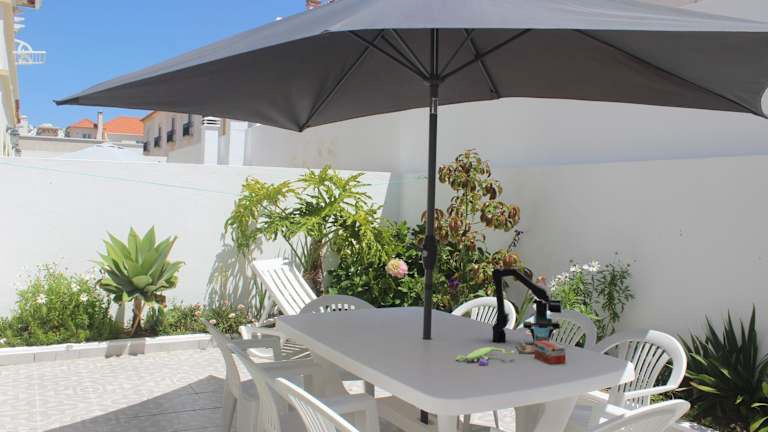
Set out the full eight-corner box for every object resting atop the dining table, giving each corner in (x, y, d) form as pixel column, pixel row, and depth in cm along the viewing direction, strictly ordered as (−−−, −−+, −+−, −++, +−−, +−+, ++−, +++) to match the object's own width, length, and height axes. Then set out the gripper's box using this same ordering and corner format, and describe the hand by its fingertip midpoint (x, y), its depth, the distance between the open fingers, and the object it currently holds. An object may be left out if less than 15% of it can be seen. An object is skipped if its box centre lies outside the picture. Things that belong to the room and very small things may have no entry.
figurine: (520, 361, 316) (520, 349, 316) (476, 368, 302) (476, 356, 301) (494, 353, 331) (494, 342, 331) (451, 360, 317) (451, 348, 317)
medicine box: (565, 363, 311) (565, 346, 311) (550, 364, 308) (550, 347, 308) (548, 356, 325) (548, 340, 325) (533, 357, 323) (533, 341, 322)
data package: (552, 338, 369) (552, 316, 369) (545, 339, 368) (545, 317, 367) (540, 334, 380) (540, 313, 380) (533, 335, 379) (533, 314, 379)
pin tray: (519, 353, 330) (519, 345, 330) (516, 347, 346) (516, 339, 346) (552, 354, 328) (552, 346, 328) (547, 347, 344) (547, 339, 344)
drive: (538, 346, 348) (538, 336, 348) (533, 342, 358) (533, 333, 358) (549, 346, 349) (549, 336, 349) (544, 342, 359) (544, 333, 359)
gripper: (525, 314, 346) (525, 344, 346) (561, 314, 344) (561, 344, 345) (522, 310, 357) (522, 339, 357) (558, 311, 355) (557, 340, 356)
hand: (541, 341), depth 353 cm, fingers open, 7 cm apart
